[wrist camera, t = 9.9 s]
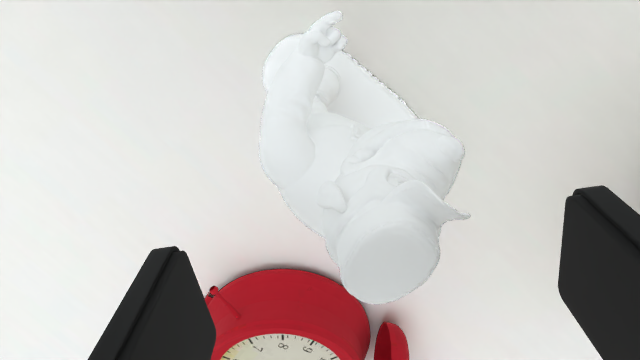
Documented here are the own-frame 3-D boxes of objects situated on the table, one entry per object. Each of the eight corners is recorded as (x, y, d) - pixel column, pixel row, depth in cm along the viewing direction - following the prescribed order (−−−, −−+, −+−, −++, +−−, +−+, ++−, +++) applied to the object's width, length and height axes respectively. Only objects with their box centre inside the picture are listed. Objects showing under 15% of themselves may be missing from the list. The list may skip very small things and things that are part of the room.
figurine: (473, 112, 21) (620, 286, 10) (379, 203, 23) (420, 417, 13) (325, -21, 18) (320, 29, 8) (236, 97, 21) (141, 257, 10)
